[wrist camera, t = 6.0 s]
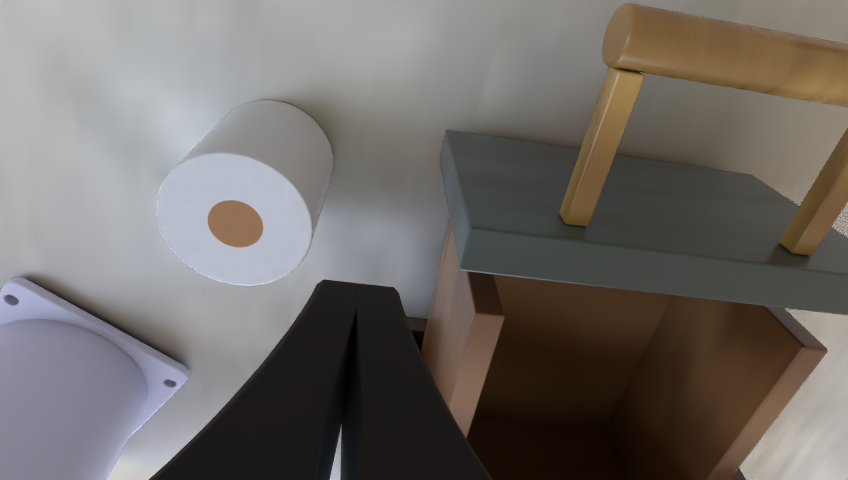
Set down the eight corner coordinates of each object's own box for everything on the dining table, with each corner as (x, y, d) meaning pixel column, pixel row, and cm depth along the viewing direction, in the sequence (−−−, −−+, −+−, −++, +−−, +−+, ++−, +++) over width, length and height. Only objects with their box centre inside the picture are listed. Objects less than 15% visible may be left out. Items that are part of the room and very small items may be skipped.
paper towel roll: (287, 229, 20) (255, 309, 15) (191, 159, 18) (125, 227, 14) (357, 155, 18) (343, 221, 14) (260, 72, 16) (210, 118, 12)
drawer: (476, -32, 14) (528, -15, 9) (826, 35, 16) (1078, 88, 10) (392, 403, 24) (390, 555, 18) (619, 422, 25) (686, 569, 19)
